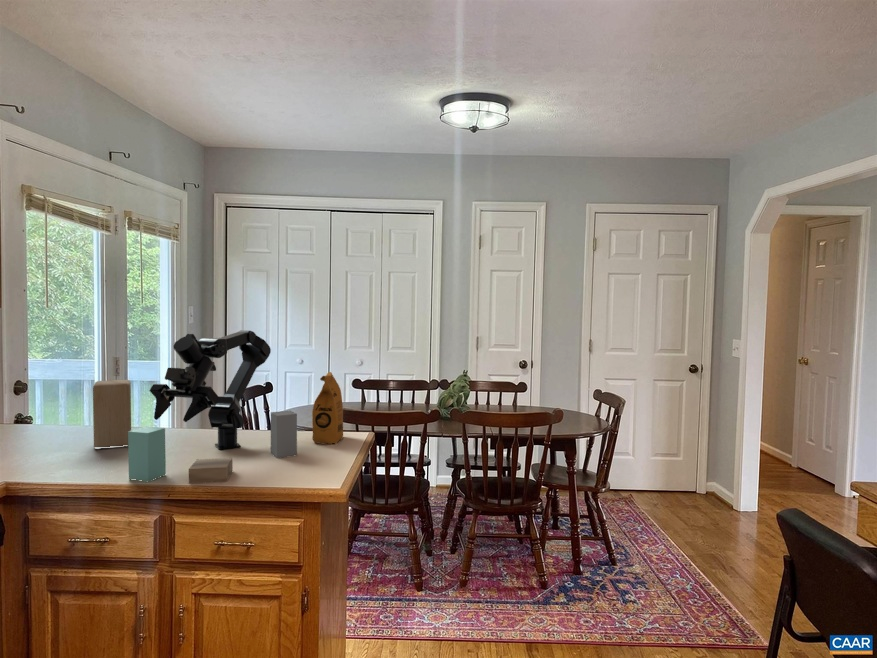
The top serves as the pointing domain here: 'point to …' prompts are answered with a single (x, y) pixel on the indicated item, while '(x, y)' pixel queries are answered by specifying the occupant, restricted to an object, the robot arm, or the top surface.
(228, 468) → the taupe square slab
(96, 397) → the block
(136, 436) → the teal pillar
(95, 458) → the top surface
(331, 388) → the coffee package
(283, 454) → the grey rectangular pillar
